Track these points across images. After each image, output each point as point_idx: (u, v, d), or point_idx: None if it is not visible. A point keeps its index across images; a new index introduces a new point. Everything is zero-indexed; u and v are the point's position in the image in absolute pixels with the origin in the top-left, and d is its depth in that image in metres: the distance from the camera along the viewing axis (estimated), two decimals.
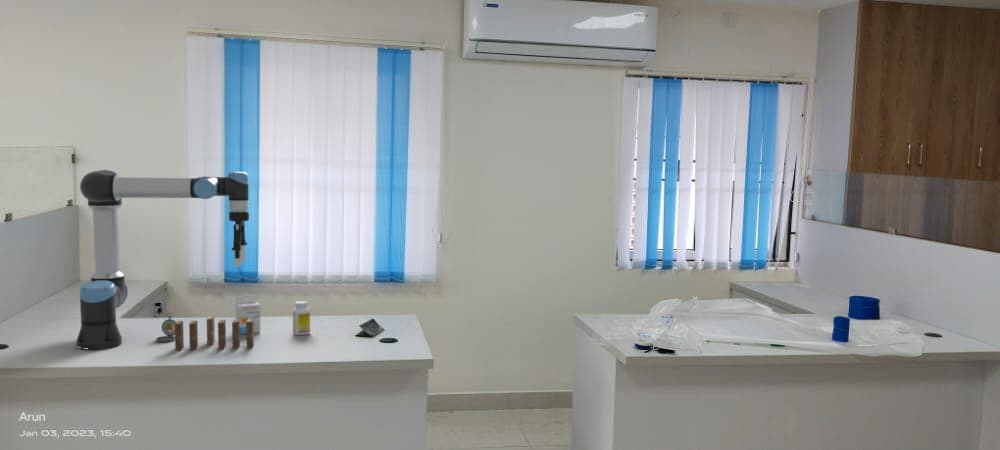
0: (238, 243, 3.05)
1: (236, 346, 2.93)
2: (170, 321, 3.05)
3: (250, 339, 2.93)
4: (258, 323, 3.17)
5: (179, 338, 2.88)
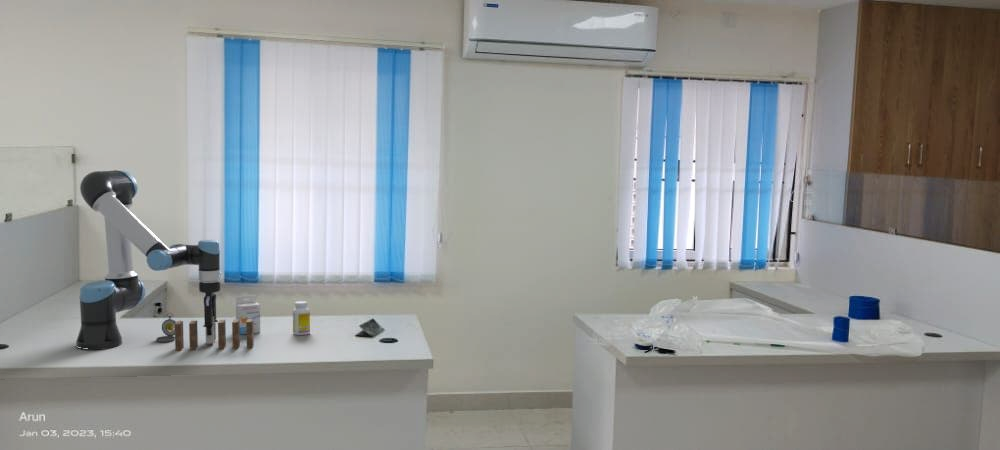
0: (209, 320, 2.93)
1: (236, 346, 2.93)
2: (170, 321, 3.05)
3: (250, 339, 2.93)
4: (258, 323, 3.17)
5: (179, 338, 2.88)
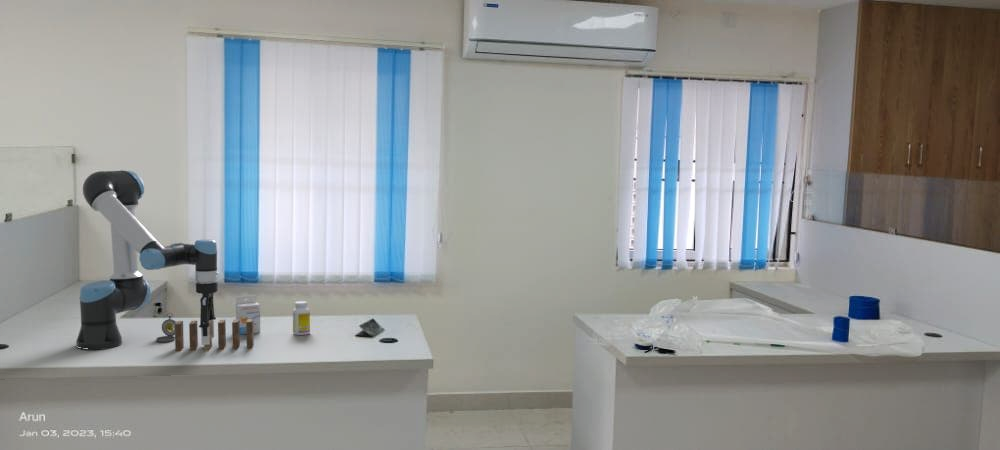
0: (205, 320, 2.84)
1: (236, 346, 2.93)
2: (170, 321, 3.05)
3: (250, 339, 2.93)
4: (258, 323, 3.17)
5: (179, 338, 2.88)
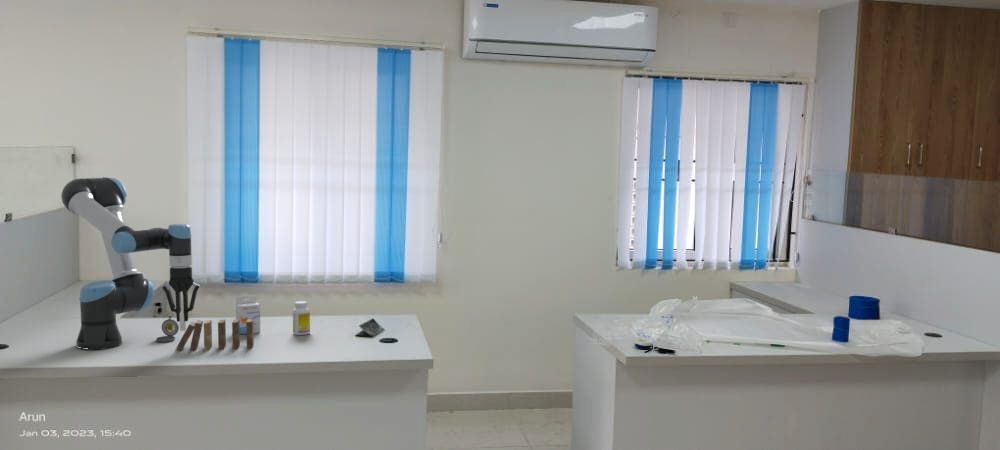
0: None
1: (236, 346, 2.93)
2: (170, 321, 3.05)
3: (250, 339, 2.93)
4: (258, 323, 3.17)
5: (186, 339, 2.89)
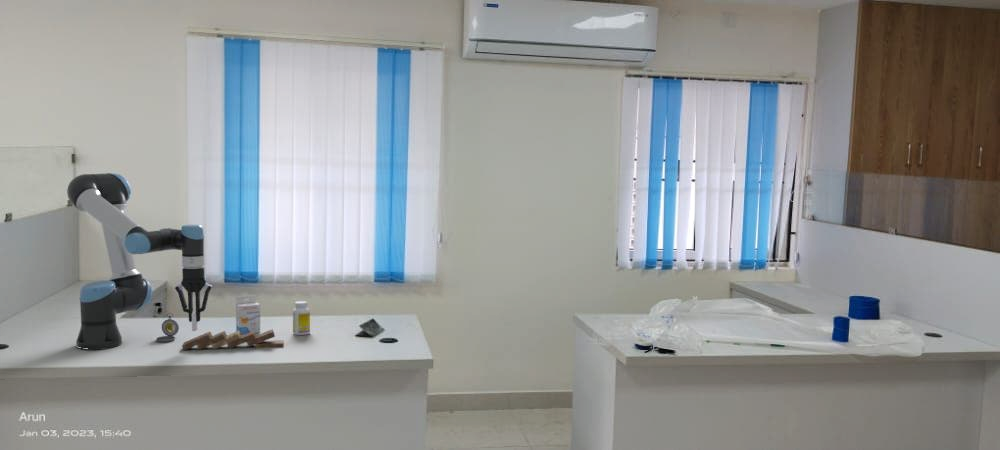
0: None
1: (250, 344, 2.94)
2: (170, 321, 3.05)
3: (264, 347, 2.95)
4: (258, 323, 3.17)
5: (195, 344, 2.90)
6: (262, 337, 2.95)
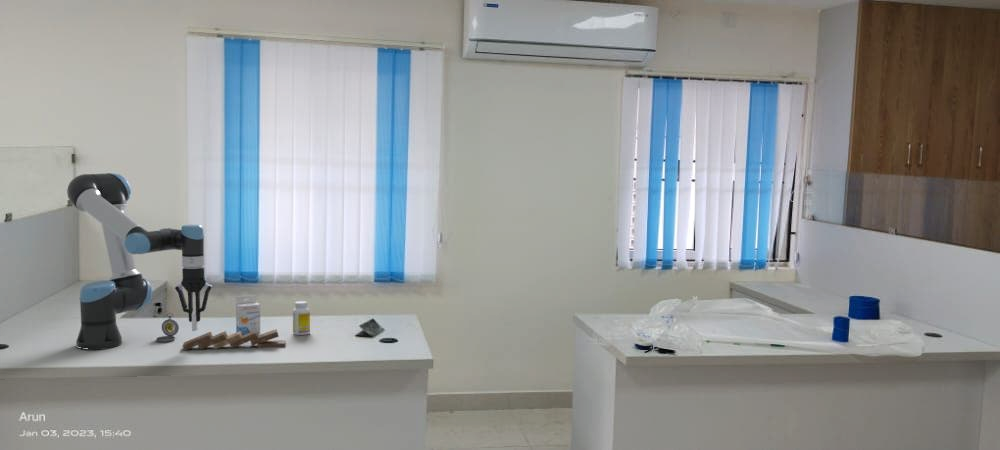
0: None
1: (253, 343, 2.94)
2: (170, 321, 3.05)
3: (266, 347, 2.95)
4: (258, 323, 3.17)
5: (196, 344, 2.90)
6: (266, 336, 2.95)
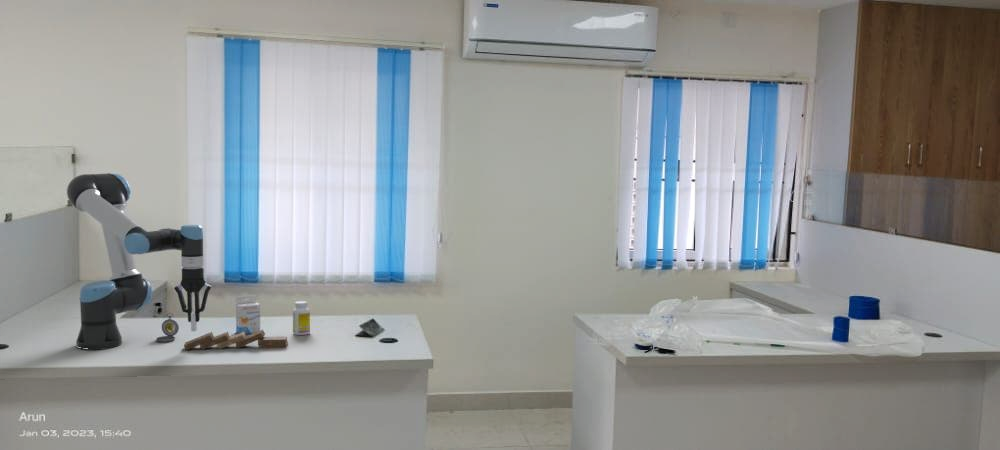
0: None
1: (260, 343, 2.94)
2: (170, 321, 3.05)
3: None
4: (258, 323, 3.17)
5: (197, 344, 2.90)
6: (274, 341, 2.94)
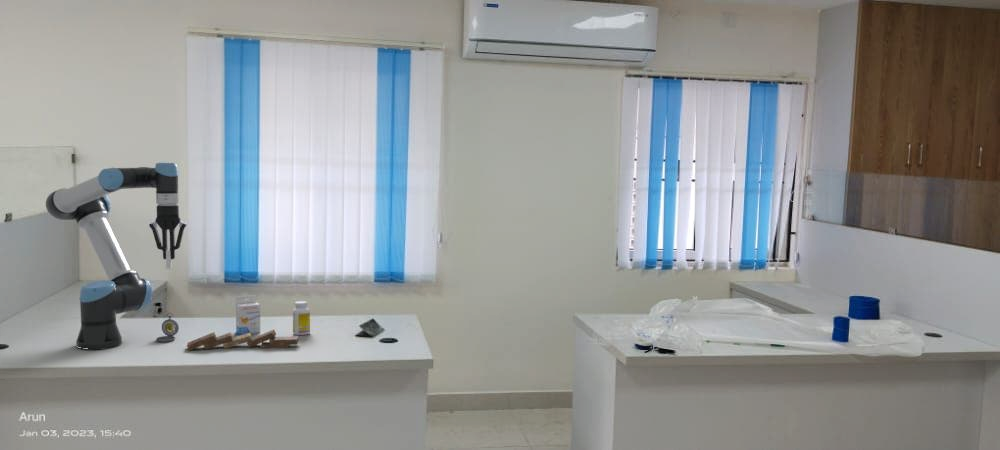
0: None
1: (271, 343, 2.94)
2: (170, 321, 3.05)
3: None
4: (258, 323, 3.17)
5: (201, 344, 2.90)
6: (285, 341, 2.94)
